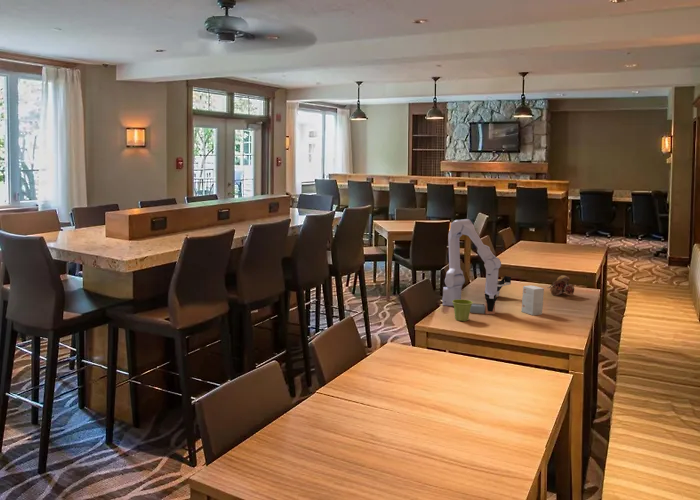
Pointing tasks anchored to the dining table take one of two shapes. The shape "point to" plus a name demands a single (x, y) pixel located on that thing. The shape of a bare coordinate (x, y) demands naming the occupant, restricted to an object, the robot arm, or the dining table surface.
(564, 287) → the seed pod
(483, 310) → the slotted gray housing
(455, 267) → the robot arm
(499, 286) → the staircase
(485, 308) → the stub
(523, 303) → the small box
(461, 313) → the plant pot
